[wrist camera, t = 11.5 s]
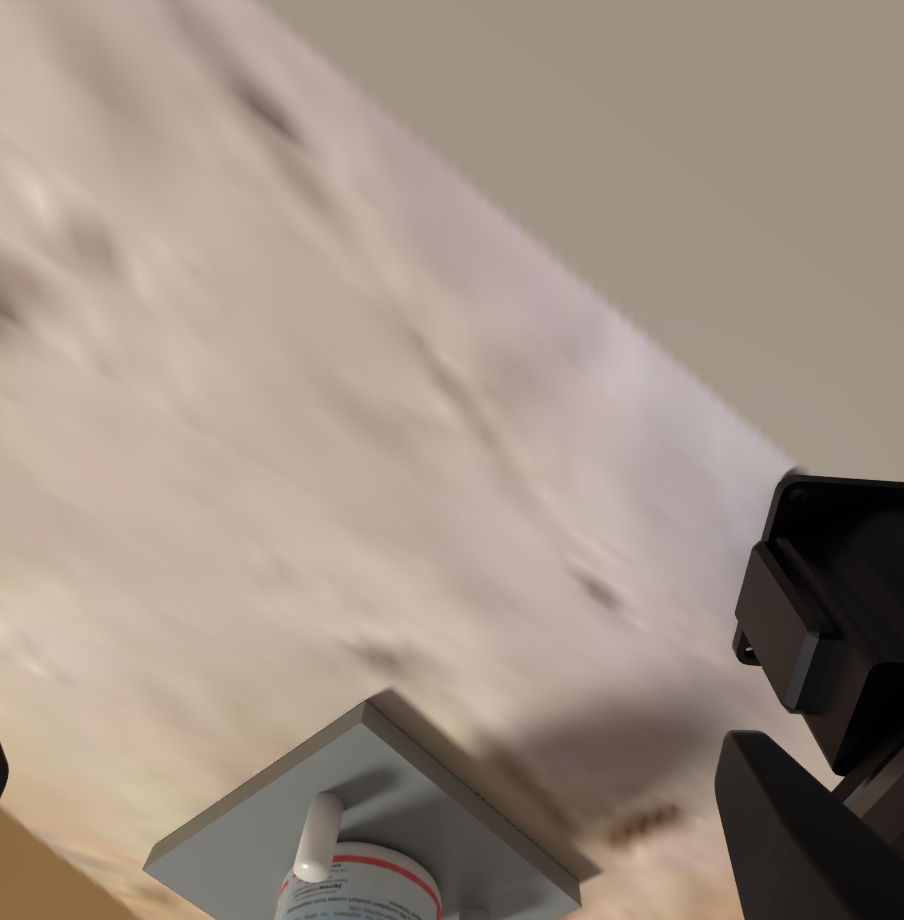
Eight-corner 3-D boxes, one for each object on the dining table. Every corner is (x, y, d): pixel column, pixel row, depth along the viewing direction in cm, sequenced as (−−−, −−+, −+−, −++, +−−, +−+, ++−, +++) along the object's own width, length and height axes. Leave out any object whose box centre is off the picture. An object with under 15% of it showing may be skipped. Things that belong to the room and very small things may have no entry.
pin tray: (365, 700, 24) (346, 784, 21) (578, 881, 28) (590, 978, 25) (153, 846, 28) (110, 936, 25) (364, 990, 31) (349, 1086, 28)
